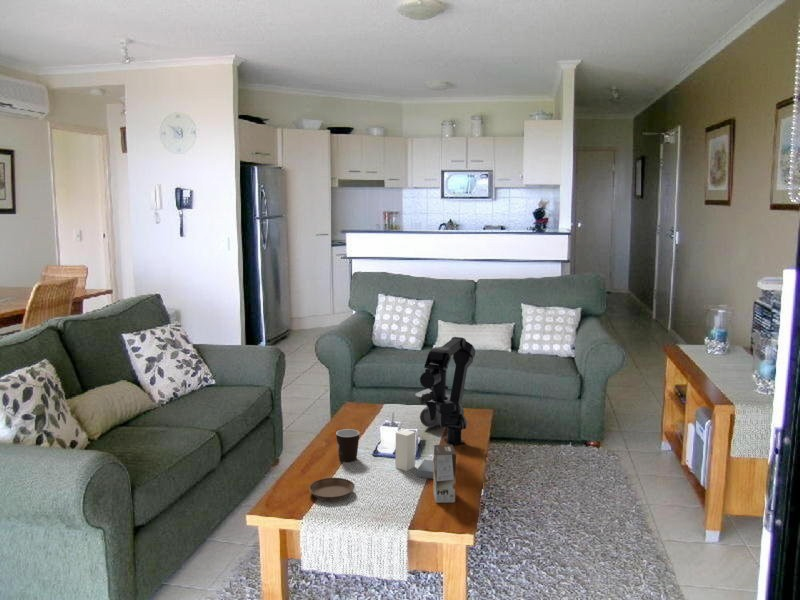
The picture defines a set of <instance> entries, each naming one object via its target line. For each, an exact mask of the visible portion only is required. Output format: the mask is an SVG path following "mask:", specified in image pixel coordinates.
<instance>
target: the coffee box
mask: <svg viewBox="0 0 800 600" xmlns="http://www.w3.org/2000/svg"><path fill="white" fill-rule="evenodd" d="M433 461H434V474H433V479H432V480H433V483H432V485H433V487H432V489H433V490H432V493H433V496H434V502H435V503H436V504H439V503H441V504H443V503H445V504H446V503H455V502H456V480H457V479H456V478H457V477H456V475H457V471H456V469H457V453H456V450H455V448H454V446H453V445H449V444H433Z"/></svg>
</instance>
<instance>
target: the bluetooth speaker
mask: <svg viewBox="0 0 800 600" xmlns="http://www.w3.org/2000/svg"><path fill="white" fill-rule="evenodd" d="M450 396H451V394H446V397H448V400H444V401H450ZM419 414H420V415H419V420H420V422H421V424H422V425H423V426H425V427H426V428H434V427H438V426H440V417H439V413H438V412H437V411H436V414H435V417H434V420H430V416H429V412H428V408H427V406H426V407H424V408H423V409H422V410H421V412H420V413H419Z"/></svg>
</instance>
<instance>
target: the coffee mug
mask: <svg viewBox="0 0 800 600" xmlns="http://www.w3.org/2000/svg"><path fill="white" fill-rule="evenodd" d="M335 434H336V435H335V436H336V444H337V451H338V459H339V461H340V462H341V463H342V462H343V463H353V462H355V461H357V456H358V450H359V441H360V434H361V433H360V431H359V430H357V429H354V428H353V429H351V428H345V429H340V430H337V431H336V433H335Z"/></svg>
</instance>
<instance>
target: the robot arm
mask: <svg viewBox="0 0 800 600" xmlns="http://www.w3.org/2000/svg"><path fill="white" fill-rule="evenodd" d="M475 356H476V349H475V347H474V345H473V344H472V343H470V342H469V341H467V339H466V338H464V337H459V336H453V337H451V339H450V340H449V341H447V342H446V343H445V344H443V345H442V346H437V347H433V348H431V349H430V350H429V351H428V353H427V357H426V361H425V362H424V366H423V367H424V370H425V371H424V372H423V373H422V374H421V375H420V378H419V382H420V384H421V386H422V387H423V388H426V389H423V390H421V391H418V392H416V393H415V394H414V397H415V399H416V401H417V403H419V405H426V407H427V408H428V412H429V416H430V420H434V417H435V414H436V411H437V412H438V413H439V417H440V425H439V426H440V428H447V429H446V430H447V431H446V436H447V437H445V438H443V440H444V441H445V442H446V443H447V445H460V444H465V441H464V440H463V439H462V435H463V433H462V432H463V431H462V430H466V429H467V426H468V420H467V419H466V417H465V410H464V408H463V405H462V402H463V396H464V390H465V384H466V378H467V372H468V368H469V367H470V365H472V364H473V361H474V358H475ZM452 359H453V362H454V365H455V368H454V374H453V379H452V385H451V392H450V395H451V396H450V401H444V400H448V397H446V395H447V394H446V392H447V390H448V389H449V386H448V385H447V370H448V369H449V364H450V362H451V360H452Z"/></svg>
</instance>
